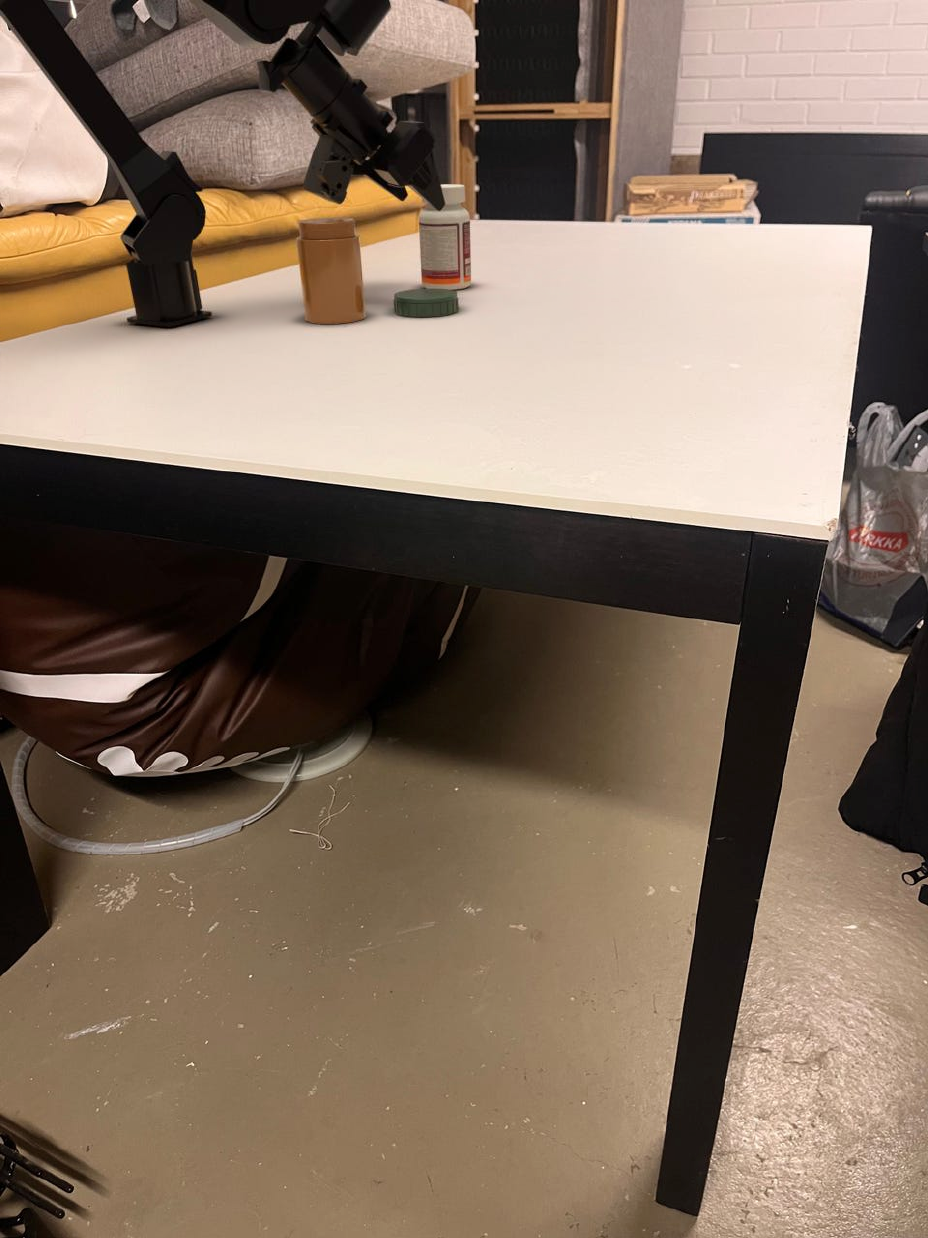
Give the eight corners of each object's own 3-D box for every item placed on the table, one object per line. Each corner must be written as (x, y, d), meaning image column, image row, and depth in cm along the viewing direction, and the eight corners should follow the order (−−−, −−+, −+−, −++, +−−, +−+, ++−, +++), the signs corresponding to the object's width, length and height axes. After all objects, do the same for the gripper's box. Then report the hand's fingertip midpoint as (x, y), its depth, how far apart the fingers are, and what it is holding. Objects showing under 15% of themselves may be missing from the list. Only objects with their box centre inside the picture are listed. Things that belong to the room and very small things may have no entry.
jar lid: (422, 302, 99) (422, 286, 98) (471, 308, 95) (471, 291, 95) (381, 313, 95) (380, 295, 94) (430, 319, 91) (429, 301, 90)
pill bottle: (452, 281, 112) (449, 182, 107) (481, 286, 108) (479, 184, 102) (412, 286, 109) (406, 186, 104) (440, 292, 105) (436, 187, 99)
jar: (341, 326, 89) (332, 224, 84) (292, 321, 92) (281, 222, 87) (377, 314, 94) (370, 217, 89) (330, 310, 97) (321, 216, 92)
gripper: (252, 149, 99) (348, 246, 109) (315, 164, 85) (417, 273, 96) (312, 67, 98) (403, 173, 109) (385, 69, 84) (480, 190, 95)
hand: (423, 202), depth 102 cm, fingers open, 9 cm apart
